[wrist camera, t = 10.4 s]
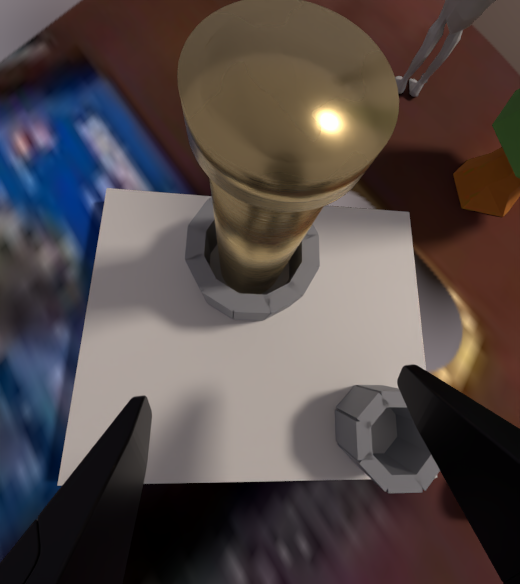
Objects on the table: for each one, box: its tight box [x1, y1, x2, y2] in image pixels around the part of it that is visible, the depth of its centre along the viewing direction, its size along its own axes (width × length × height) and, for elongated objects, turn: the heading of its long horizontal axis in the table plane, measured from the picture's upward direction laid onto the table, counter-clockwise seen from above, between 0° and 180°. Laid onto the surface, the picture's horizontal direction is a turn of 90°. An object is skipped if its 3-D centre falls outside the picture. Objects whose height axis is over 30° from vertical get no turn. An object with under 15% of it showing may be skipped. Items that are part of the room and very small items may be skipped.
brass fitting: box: [177, 0, 399, 294], centre depth 12 cm, size 5×5×13 cm
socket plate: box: [57, 188, 440, 493], centre depth 17 cm, size 18×22×5 cm
